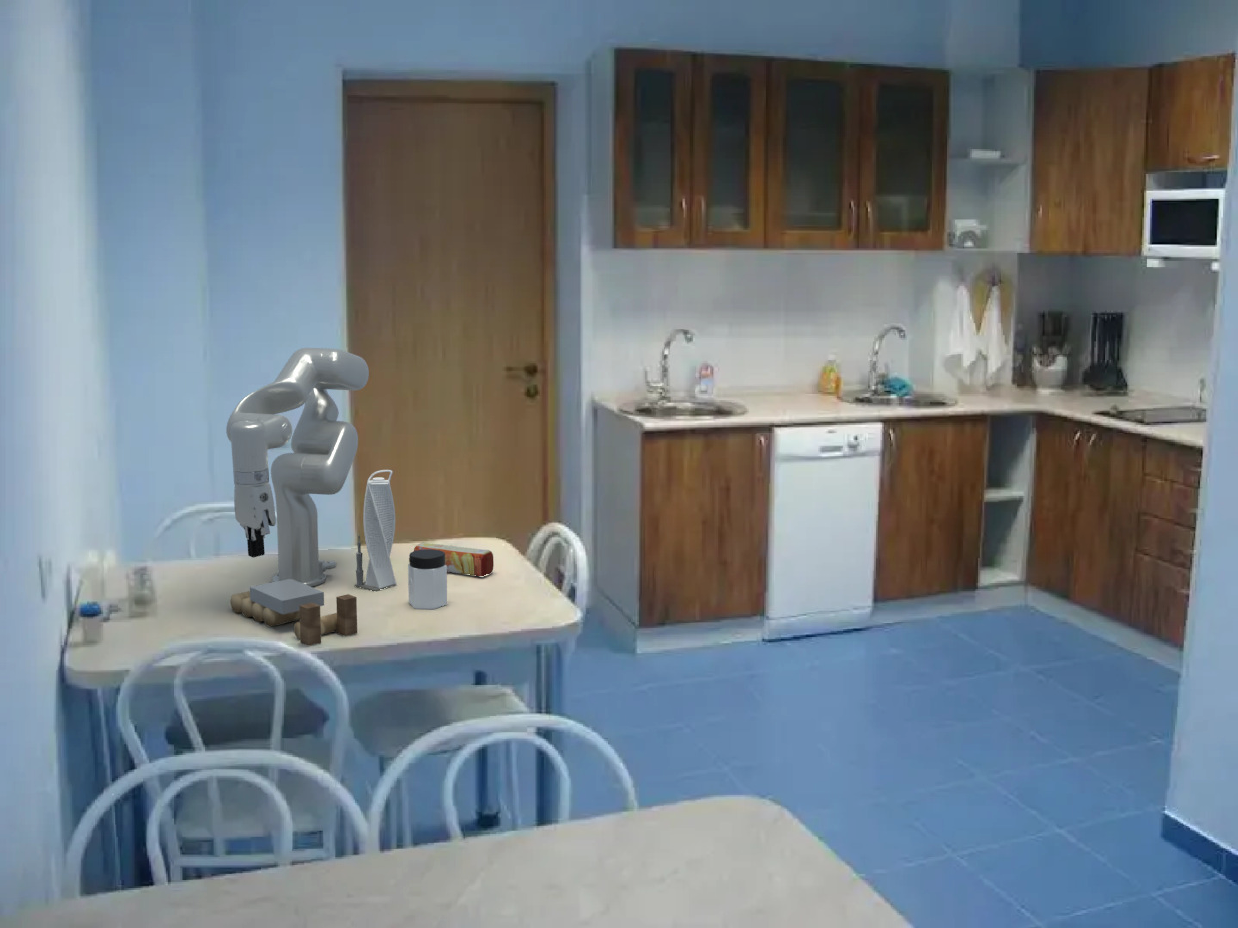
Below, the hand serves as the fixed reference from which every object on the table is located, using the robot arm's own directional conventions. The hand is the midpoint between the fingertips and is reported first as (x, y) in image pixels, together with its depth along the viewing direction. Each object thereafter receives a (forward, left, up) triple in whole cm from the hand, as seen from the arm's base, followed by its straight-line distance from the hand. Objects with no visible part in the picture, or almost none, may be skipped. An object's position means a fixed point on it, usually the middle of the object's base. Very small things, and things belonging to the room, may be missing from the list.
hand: (256, 555), depth 284 cm
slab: (+1, +14, -8) cm, 16 cm away
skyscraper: (-30, +5, -12) cm, 33 cm away
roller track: (+1, +7, -12) cm, 14 cm away
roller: (+1, +26, -10) cm, 28 cm away
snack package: (-51, +6, -12) cm, 53 cm away
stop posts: (+1, +30, -12) cm, 32 cm away
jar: (-29, +25, -12) cm, 40 cm away
